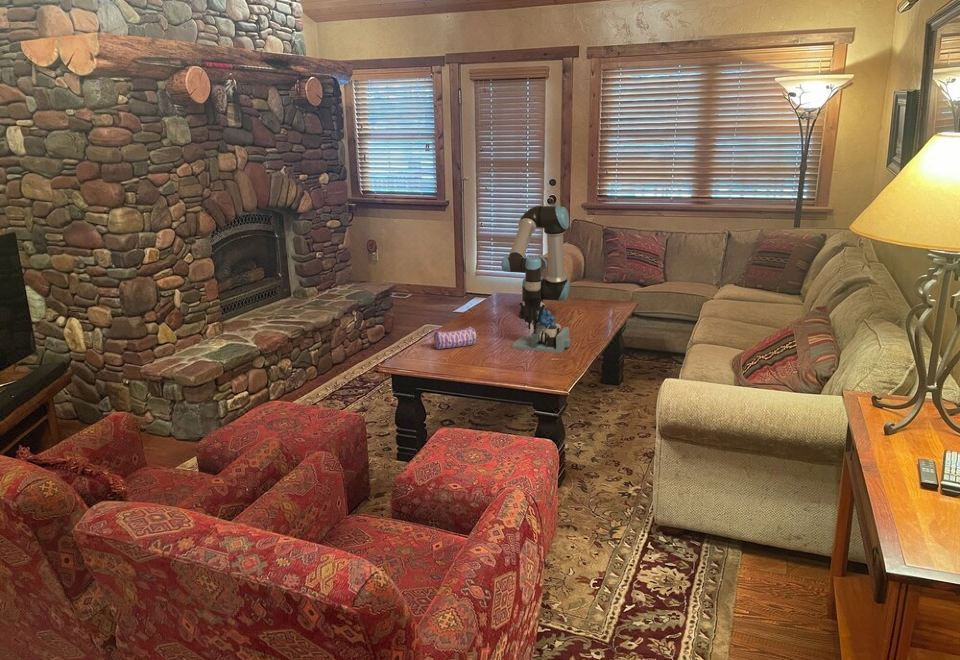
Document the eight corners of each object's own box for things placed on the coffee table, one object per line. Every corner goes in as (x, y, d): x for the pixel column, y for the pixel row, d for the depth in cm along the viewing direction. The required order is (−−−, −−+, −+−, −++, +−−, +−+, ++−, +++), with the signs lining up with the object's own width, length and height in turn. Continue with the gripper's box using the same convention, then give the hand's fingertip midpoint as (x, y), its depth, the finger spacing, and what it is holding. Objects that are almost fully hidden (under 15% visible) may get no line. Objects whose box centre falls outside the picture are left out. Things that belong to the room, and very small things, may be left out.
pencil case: (471, 341, 359) (471, 323, 357) (479, 346, 351) (479, 327, 349) (431, 347, 350) (431, 329, 347) (439, 352, 342) (438, 333, 339)
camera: (546, 338, 357) (546, 319, 354) (562, 339, 354) (563, 320, 352) (537, 347, 343) (538, 327, 340) (555, 348, 340) (555, 328, 337)
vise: (521, 339, 361) (521, 323, 358) (572, 344, 352) (573, 327, 349) (511, 348, 346) (511, 331, 344) (565, 353, 337) (565, 336, 335)
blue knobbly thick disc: (531, 331, 374) (532, 309, 370) (535, 328, 380) (535, 306, 376) (553, 333, 370) (553, 311, 366) (556, 330, 376) (557, 308, 372)
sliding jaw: (543, 334, 362) (543, 321, 360) (548, 335, 361) (548, 322, 360) (531, 347, 343) (531, 333, 341) (537, 347, 342) (537, 334, 340)
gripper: (517, 290, 342) (517, 336, 348) (543, 292, 337) (543, 339, 344) (522, 286, 348) (522, 332, 355) (547, 288, 344) (547, 334, 351)
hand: (532, 335), depth 349 cm, fingers closed
